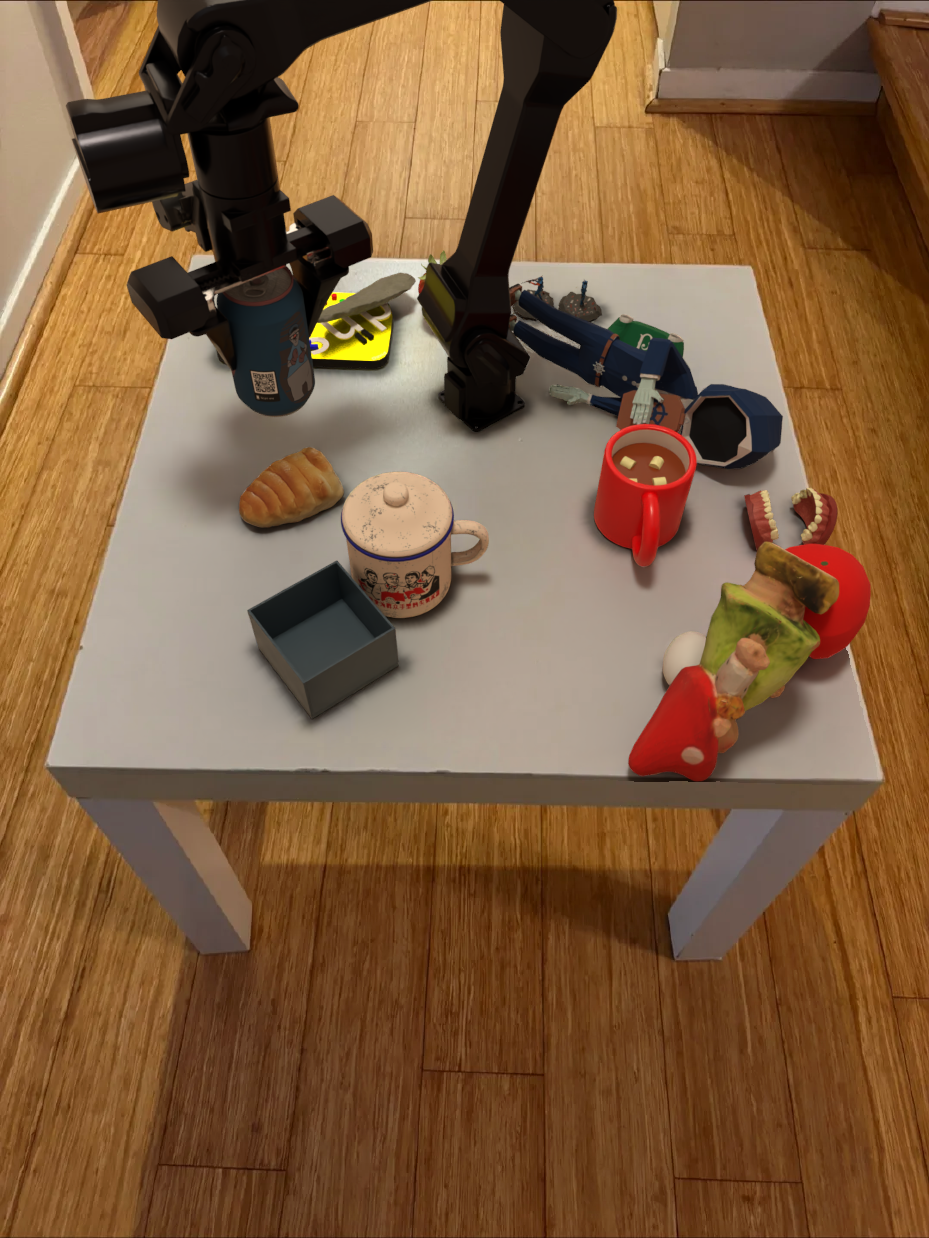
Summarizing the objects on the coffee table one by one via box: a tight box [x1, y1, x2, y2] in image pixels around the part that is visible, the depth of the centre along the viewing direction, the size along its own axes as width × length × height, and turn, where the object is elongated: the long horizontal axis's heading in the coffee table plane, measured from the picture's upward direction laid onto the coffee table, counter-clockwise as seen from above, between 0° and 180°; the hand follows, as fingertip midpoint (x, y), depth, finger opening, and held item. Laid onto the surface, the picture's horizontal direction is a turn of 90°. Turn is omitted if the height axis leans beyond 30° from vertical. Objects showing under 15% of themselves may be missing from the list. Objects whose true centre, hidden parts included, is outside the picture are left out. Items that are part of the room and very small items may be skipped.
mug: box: [593, 424, 698, 568], centre depth 85 cm, size 8×12×8 cm, turn 179°
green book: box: [607, 313, 685, 358], centre depth 100 cm, size 9×4×6 cm
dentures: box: [743, 487, 839, 551], centre depth 88 cm, size 6×4×8 cm
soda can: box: [215, 265, 316, 418], centre depth 82 cm, size 7×7×12 cm
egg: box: [662, 631, 706, 686], centre depth 79 cm, size 4×6×4 cm, turn 157°
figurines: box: [512, 275, 603, 322], centre depth 105 cm, size 10×5×4 cm, turn 85°
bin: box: [246, 559, 399, 720], centre depth 79 cm, size 8×8×6 cm
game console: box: [215, 291, 394, 370], centre depth 104 cm, size 18×11×2 cm, turn 89°
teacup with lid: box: [340, 471, 490, 619], centre depth 81 cm, size 12×9×12 cm
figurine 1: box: [509, 283, 784, 470], centre depth 93 cm, size 12×12×30 cm
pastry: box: [238, 446, 345, 529], centre depth 89 cm, size 9×7×4 cm
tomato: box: [784, 544, 872, 660], centre depth 80 cm, size 9×10×8 cm
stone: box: [317, 272, 417, 323], centre depth 103 cm, size 13×2×5 cm
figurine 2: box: [627, 541, 839, 782], centre depth 73 cm, size 11×9×20 cm
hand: (269, 351), depth 83 cm, fingers closed on soda can, 7 cm apart
